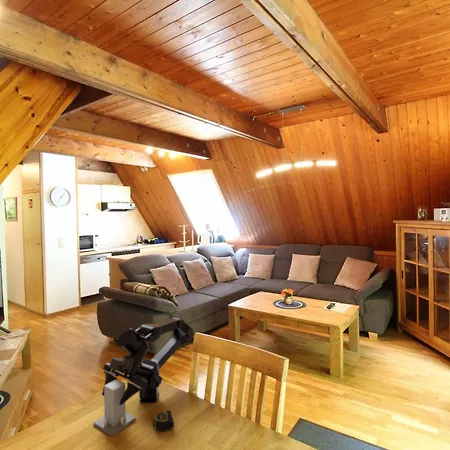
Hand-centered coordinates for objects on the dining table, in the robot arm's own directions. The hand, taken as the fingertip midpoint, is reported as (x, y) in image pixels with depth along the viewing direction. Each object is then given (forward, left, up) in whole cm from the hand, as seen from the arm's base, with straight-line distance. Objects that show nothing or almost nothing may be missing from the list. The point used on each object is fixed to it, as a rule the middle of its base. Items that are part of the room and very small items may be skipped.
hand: (111, 400), depth 113 cm
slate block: (-1, -1, -8) cm, 8 cm away
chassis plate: (-1, -1, -9) cm, 9 cm away
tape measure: (-19, 0, -9) cm, 21 cm away
